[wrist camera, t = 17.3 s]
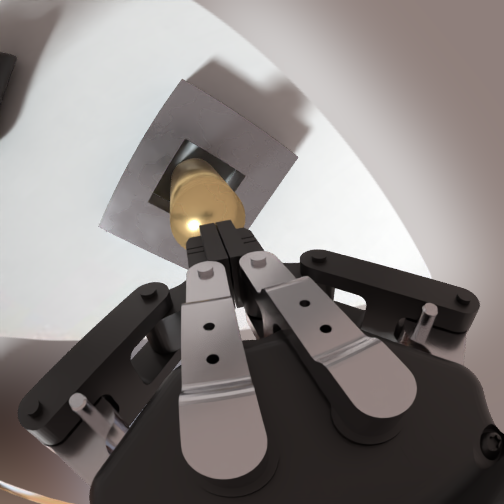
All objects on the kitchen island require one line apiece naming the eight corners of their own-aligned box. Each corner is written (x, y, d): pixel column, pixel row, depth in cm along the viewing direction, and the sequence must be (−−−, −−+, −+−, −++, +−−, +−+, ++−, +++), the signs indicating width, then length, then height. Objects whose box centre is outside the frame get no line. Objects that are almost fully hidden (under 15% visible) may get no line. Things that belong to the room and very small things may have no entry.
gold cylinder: (162, 189, 25) (156, 235, 15) (186, 149, 24) (195, 169, 14) (201, 210, 27) (220, 266, 17) (225, 172, 26) (259, 207, 16)
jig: (106, 213, 24) (98, 226, 21) (181, 84, 20) (182, 78, 18) (208, 263, 29) (213, 280, 26) (283, 152, 26) (298, 157, 23)
